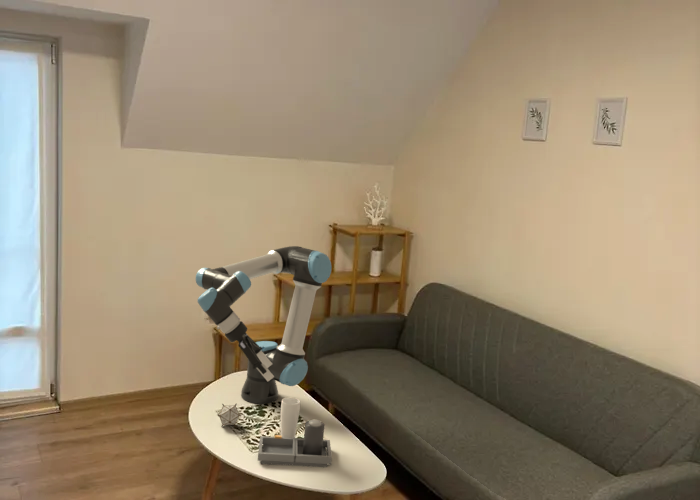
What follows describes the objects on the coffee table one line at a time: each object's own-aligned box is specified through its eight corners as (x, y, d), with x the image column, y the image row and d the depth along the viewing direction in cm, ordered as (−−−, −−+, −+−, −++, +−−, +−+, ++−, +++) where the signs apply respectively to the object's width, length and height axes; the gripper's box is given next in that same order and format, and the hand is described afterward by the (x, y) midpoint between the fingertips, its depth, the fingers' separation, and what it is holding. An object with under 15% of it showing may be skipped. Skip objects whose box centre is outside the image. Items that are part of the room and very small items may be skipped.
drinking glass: (293, 445, 231) (297, 406, 228) (275, 442, 232) (278, 402, 229) (299, 437, 237) (302, 398, 234) (281, 434, 238) (284, 395, 236)
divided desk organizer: (259, 444, 229) (262, 410, 226) (328, 448, 231) (332, 415, 229) (257, 463, 216) (260, 427, 214) (330, 467, 218) (334, 432, 216)
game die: (222, 434, 241) (208, 411, 241) (240, 421, 246) (227, 398, 247) (231, 432, 234) (217, 408, 234) (249, 419, 239) (236, 395, 239)
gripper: (224, 324, 238) (260, 367, 242) (222, 344, 213) (262, 391, 218) (241, 312, 238) (276, 355, 243) (240, 330, 214) (280, 377, 218)
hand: (270, 372), depth 230 cm, fingers open, 13 cm apart
